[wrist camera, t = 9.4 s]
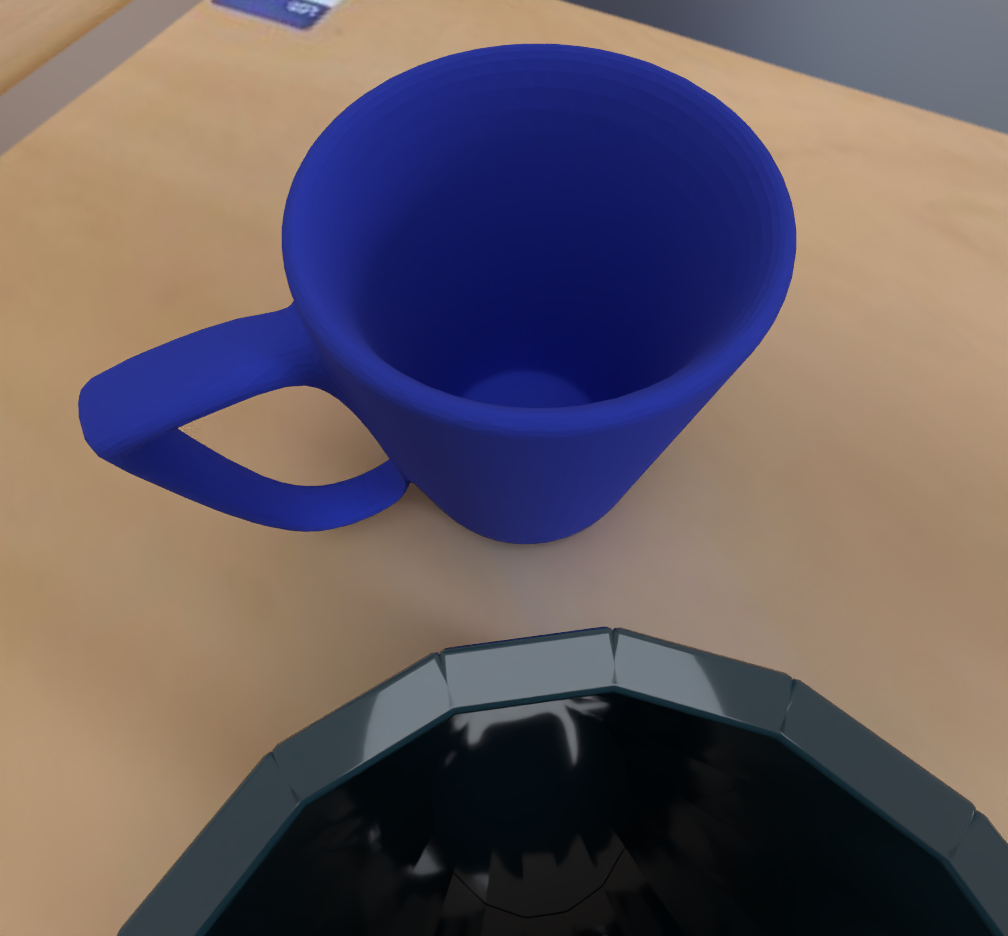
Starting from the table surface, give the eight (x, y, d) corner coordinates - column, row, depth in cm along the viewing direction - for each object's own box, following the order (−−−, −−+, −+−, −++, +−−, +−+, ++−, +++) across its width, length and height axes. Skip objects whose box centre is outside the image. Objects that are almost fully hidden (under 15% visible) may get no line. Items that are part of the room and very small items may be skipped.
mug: (260, 445, 18) (-11, 190, 9) (574, 318, 20) (629, -6, 10) (336, 681, 15) (53, 678, 6) (696, 507, 17) (920, 292, 8)
